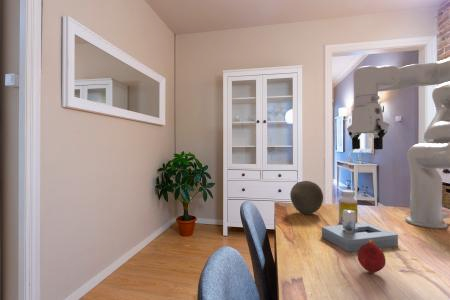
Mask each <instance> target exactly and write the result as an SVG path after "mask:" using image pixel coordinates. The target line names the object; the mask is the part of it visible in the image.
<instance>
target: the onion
mask: <svg viewBox="0 0 450 300" xmlns="http://www.w3.org/2000/svg"><path fill="white" fill-rule="evenodd" d="M356 256H357V261H358V263H359V264H360V266H361V267H362V268H363V269H364V270H365V271H366V272H368V273H369V274H374V273H378V272H380V271H381V270H382V269H383V268H385V266H386V257H385V256H386V255H385V254H384V252H383V250H382V249H381V248H379V247H378V246H377V245H375V244H374V241H373V240H372V239H371V240H369V242H368V243H367V244H364V245H362V246H361V247H360V248H359V250H358V251H357V255H356Z"/></svg>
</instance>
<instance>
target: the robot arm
mask: <svg viewBox="0 0 450 300" xmlns="http://www.w3.org/2000/svg"><path fill="white" fill-rule="evenodd" d="M436 85H437V86H436ZM424 86H425V87H426V86H436V87H434V89H433V90H432V94H431V98H432V100H433V103H434V106H435V110H436V112H435V115H434V117H433V118H432V120H431V121H430V123H429V125H428V127H427V128H426V129H425V132H424V134H423V140H424V141H425V143H416V144H414V145H412V146H410V147H409V148H408V150H407V161H408V162H407V163H408V165H409V173H410V181H409V183H410V184H409V186H410V191H409V195H410V200H409V202H410V204H409V205H410V209H409V215H408V216H406V217H404V218H405V219H404V220H405V221H406V222H407V223H409V224H411V225H415V226H418V227H423V228H428V229H446V228H447V227H448V222H446V221H444V219H448V218H450V214H449V213H447V212H443V179H442V176H441V174H440V173H439V171H438V169H440V170H450V57H448V58H445V59H443V60H439V61H435V62H427V63H413V64H409V65H405V66H401V67H398V66H396V65H381V66H374V65H366V66H365V65H364V66H360V67H357V68H355V70H354V71H353V109H352V112H351V113H352V114H351V115H352V116H351V124H350V125H349V126H348V127H347V128H346V131H347V132H348V136H350V139H351V150H361V138H360V136H361V135H362V134H372V135H373V136H374V138H373V149H374V150H383V148H384V147H383V145H384V144H383V143H384V142H383V139H384V138H385V135H386V134H387V133H388V130H389V128H390V124H389V123H388V122H386V121H384V116H383V109H382V106H381V104H380V103H379V100H380V96H379V92H386V91H394V90H402V89H403V90H404V89H409V88H416V87H424Z"/></svg>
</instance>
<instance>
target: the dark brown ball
mask: <svg viewBox="0 0 450 300" xmlns="http://www.w3.org/2000/svg"><path fill="white" fill-rule="evenodd" d="M323 193H324V192H323V191H322V189H321V187H320V186H319V185H318V183H315V182H313V181H309V180H303V181H298V182H296V183H295V184H294V185H293V186H292V188H291V189H290V193H289V195H290V200H291V202H292V205H293V207H294V208H295V209H296V211H297V212H299V213H301V214H304V215H310V214H313V213H315V212H317V211H319V209H320V208H321V206H322V205H323V203H324V194H323Z"/></svg>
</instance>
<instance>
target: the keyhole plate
mask: <svg viewBox="0 0 450 300" xmlns="http://www.w3.org/2000/svg"><path fill="white" fill-rule="evenodd" d="M321 237H322V238H323V239H325V240H327V241H329V242H330V243H332V244H333V245H335V246H337V247H339V248H341V249H342V250H344V251H346V252H347V253H351V252H358V250H359V248H360V247H361V246H362V245H364V244H367V243H368V242H369V240H371V239H372V240H373V241H374V244H375V245H377V246H378V247H379V248H380V249H381V248H382V249H383V248H389V247H398V246H399V235H398V233H394V232H392V231H389V230H387V229H384V228H383V227H382V228H381V227H379V226H376V225H373V224H371V223H368V222H361V223H360V222H357V224H355V230H353V233H349V234H348V233H346V232H345V229H343V224H337V225H328V226H321Z"/></svg>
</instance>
